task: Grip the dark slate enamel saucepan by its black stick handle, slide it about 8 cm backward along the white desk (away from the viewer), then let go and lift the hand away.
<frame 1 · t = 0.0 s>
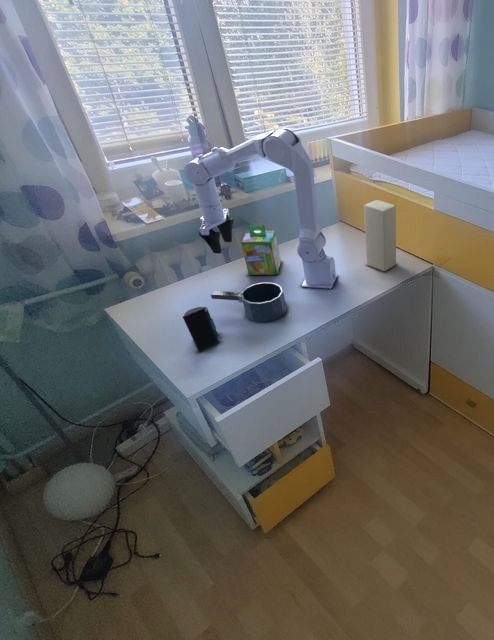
hand: (222, 247, 131), 10 cm above the table, tool pointing down, fingers open, 7 cm apart
chalk box: (265, 269, 142), on the table
saucepan: (266, 311, 123), on the table
speaker: (205, 341, 112), on the table
tall cream block: (382, 264, 147), on the table
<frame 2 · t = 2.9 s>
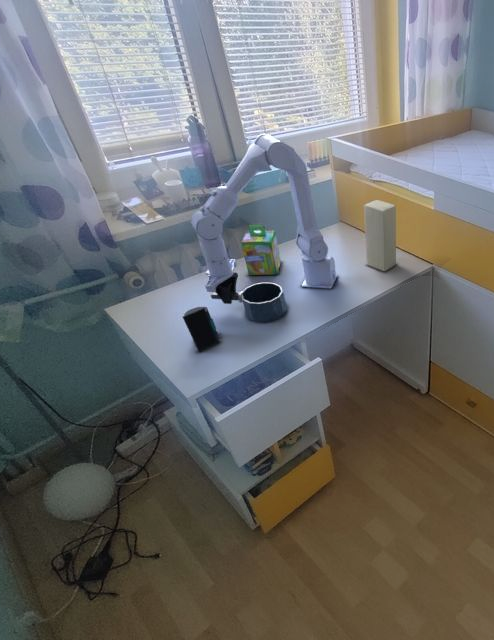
hand: (230, 300, 122), 3 cm above the table, tool pointing down, fingers closed on saucepan, 2 cm apart
saucepan: (266, 311, 123), on the table, touching gripper
everything else where it was.
when the fingers open (3 cm above the table, at t = 5.6 s): saucepan stays where it is, on the table.
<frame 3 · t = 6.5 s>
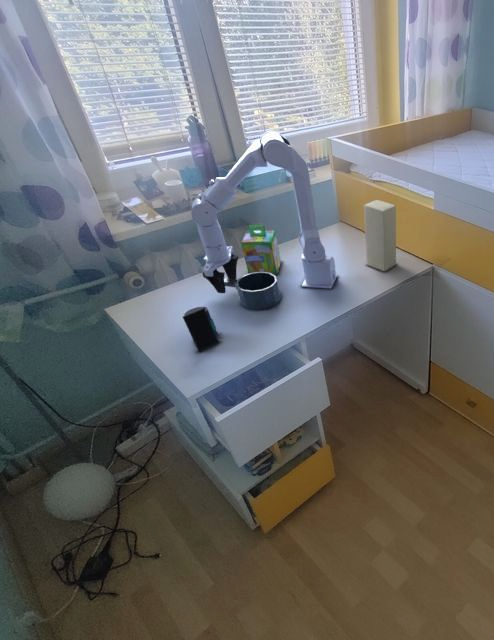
hand: (227, 285, 127), 3 cm above the table, tool pointing down, fingers open, 7 cm apart
saucepan: (261, 299, 128), on the table
everything else where it was.
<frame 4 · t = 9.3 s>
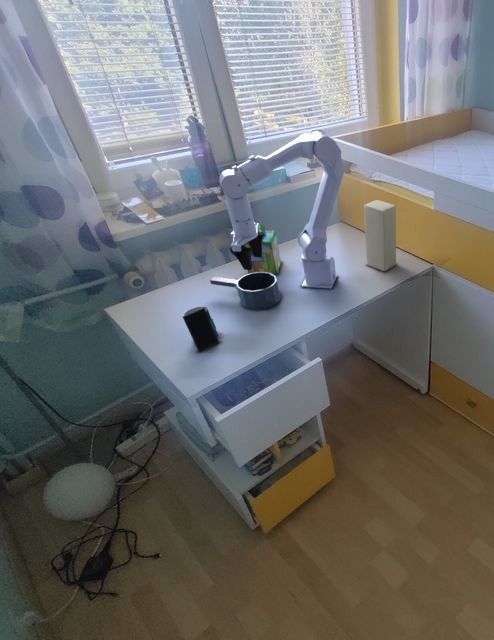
hand: (253, 262, 124), 10 cm above the table, tool pointing down, fingers open, 7 cm apart
nothing on the table moved.
at the end: saucepan 1.3 cm from the target spot, on the table; saucepan tilted 0°; the gripper is holding nothing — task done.
